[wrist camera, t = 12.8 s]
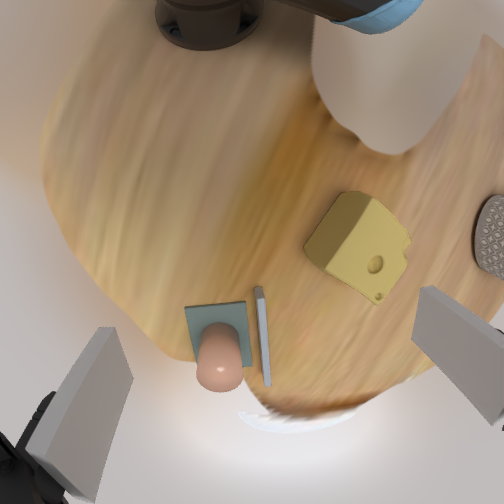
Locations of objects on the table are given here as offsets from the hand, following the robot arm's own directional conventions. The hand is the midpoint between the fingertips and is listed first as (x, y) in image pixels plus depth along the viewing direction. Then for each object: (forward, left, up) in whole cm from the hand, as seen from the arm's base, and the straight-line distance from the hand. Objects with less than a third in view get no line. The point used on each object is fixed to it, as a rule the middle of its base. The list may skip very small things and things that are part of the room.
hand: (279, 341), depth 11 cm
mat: (+18, -5, -29) cm, 34 cm away
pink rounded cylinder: (+18, -5, -28) cm, 34 cm away
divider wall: (+18, +2, -29) cm, 34 cm away
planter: (+6, +52, -29) cm, 60 cm away
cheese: (+4, +15, -29) cm, 33 cm away
